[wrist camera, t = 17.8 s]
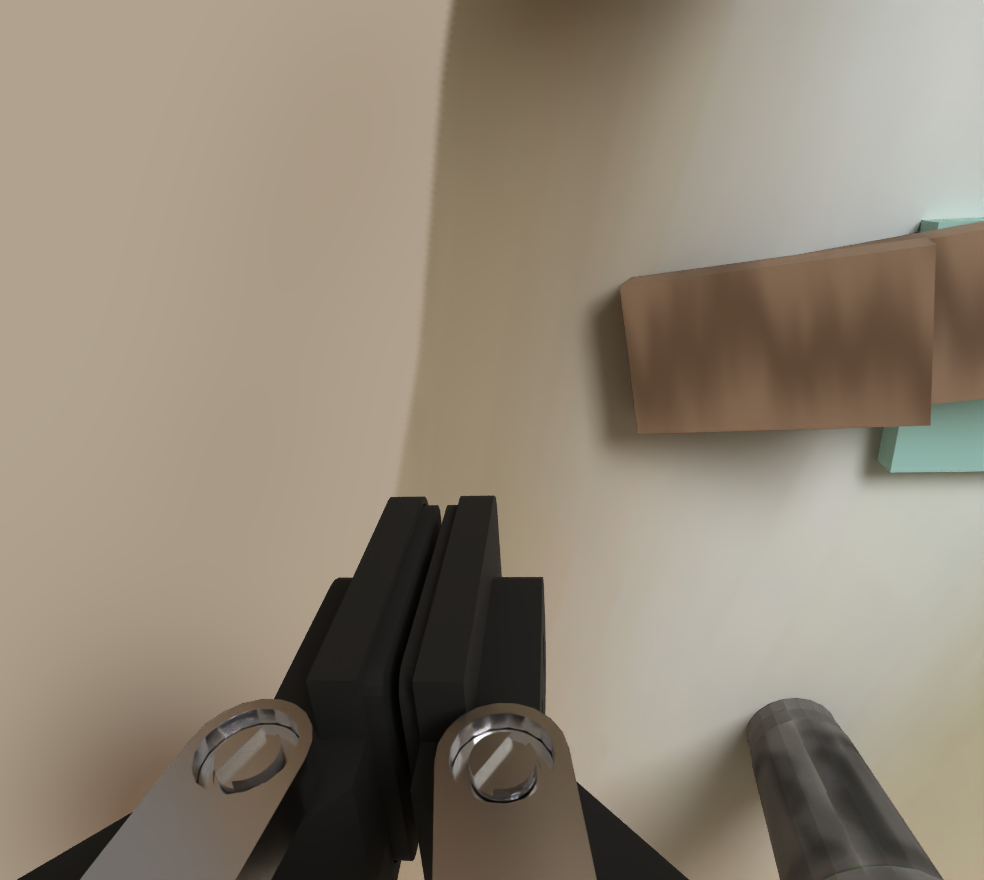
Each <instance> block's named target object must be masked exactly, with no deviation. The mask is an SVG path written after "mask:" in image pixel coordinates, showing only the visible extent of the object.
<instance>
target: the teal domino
mask: <svg viewBox="0 0 984 880" xmlns="http://www.w3.org/2000/svg"><path fill="white" fill-rule="evenodd" d="M981 221H984V218H961V219H938V220H922V221H921V227H920V232H926V231H931V230H937V229H942V228H948V227H954V226H959V225H965V224H970V223H976V222H981ZM920 232H919V233H920ZM877 462H878V463H880V464H881V465H882V466H883V467H884V468H885V469H887V470H888V471H889V472H890V473H896V472H975V471H984V399H978V400H968V401H958V402H948V403H939V404H931V426H901V427H883V432H882V437H881V442H880V448H879V453H878V459H877Z"/></svg>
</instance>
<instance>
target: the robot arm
mask: <svg viewBox="0 0 984 880" xmlns="http://www.w3.org/2000/svg"><path fill="white" fill-rule="evenodd" d="M545 694H546V642H545V606H544V583H543V577H502V575H501V560H500V545H499V530H498V516H497V503H496V497H495V496H461V497H460V499H459V503H458V505H448V506H447V508H446V511H445V515H444V518H443V522H442V524H441V515H440V509H439V506H438V505H428V502H427V499H426V497H391V498H390V499H389V500H388V502H387V504H386V507H385V509H384V511H383V513H382V515H381V518H380V520H379V522H378V524H377V526H376V528H375V531H374V533H373V535H372V537H371V539H370V542H369V544H368V546H367V548H366V550H365V552H364V555H363V557H362V559H361V561H360V563H359V565H358V568H357V570H356V572H355V574H354V577H353V578H338V579H336V580H334V582H333V583H332V585H331V586H330V588H329V590H328V592H327V594H326V596H325V598H324V600H323V602H322V604H321V606H320V608H319V610H318V612H317V614H316V616H315V618H314V620H313V622H312V624H311V626H310V628H309V630H308V632H307V634H306V636H305V638H304V640H303V642H302V644H301V646H300V648H299V650H298V652H297V654H296V656H295V658H294V660H293V662H292V664H291V666H290V668H289V670H288V672H287V674H286V676H285V678H284V680H283V682H282V684H281V686H280V688H279V690H278V692H277V694H276V696H275V698H274V699H260V700H256V701H251V702H247V703H242V704H240V705H238V706H236V707H233V708H231V709H228V710H226V711H224V712H222V713H221V714H219V715H218V716H216V717H215V718H213V719H212V720H210V721H209V722H207V723H206V724H205V725H204V726H203V727H202V728H201V729H200V730H199V731H198V732H197V733H196V734H195V735H194V736H193V737H192V738H191V739H190V740H189V741H188V743H187V744H186V745H185V746H184V748H183V749H182V750H181V752H180V753H179V754H178V755H177V757H176V758H175V759H174V760H173V762H172V763H171V764H170V766H169V767H168V768H167V769H166V771H165V772H164V773H163V775H162V776H161V777H160V778H159V780H158V781H157V782H156V784H155V785H154V786H153V787H152V788H151V790H150V791H149V792H148V794H147V795H146V796H145V797H144V799H143V800H142V801H141V803H140V804H139V805H138V806H137V808H136V809H135V810H134V811H133V812H132V813H130V814H128V815H127V816H125V817H123V818H122V819H120V820H118V821H116V822H115V823H113V824H112V825H110V826H108V827H106V828H104V829H103V830H101V831H100V832H98V833H96V834H94V835H93V836H91V837H89V838H87V839H86V840H84V841H82V842H81V843H79V844H77V845H75V846H74V847H72V848H70V849H69V850H67V851H65V852H63V853H62V854H60V855H58V856H57V857H55V858H54V859H52V860H50V861H48V862H46V863H45V864H43V865H41V866H40V867H38V868H36V869H35V870H33V871H31V872H30V873H28V874H26V875H24V876H23V877H21V878H19V879H17V880H397V878H398V873H399V868H400V864H401V860H402V861H413V860H414V858H415V855H416V852H417V847H418V842H419V847H420V854H421V860H422V866H423V872H424V879H425V880H689V879H687V878H686V877H685V876H684V875H683V874H682V873H681V872H679V871H678V870H677V869H676V868H675V867H674V866H673V865H671V864H670V863H669V862H668V861H667V860H666V859H665V858H663V857H662V856H661V855H660V854H659V853H658V852H657V851H655V850H654V849H653V848H652V847H651V846H650V845H649V844H647V843H646V842H645V841H644V840H643V839H642V838H641V837H639V836H638V835H637V834H636V833H635V832H634V831H632V830H631V829H630V828H629V827H628V826H627V825H626V824H624V823H623V822H622V821H621V820H620V819H619V818H618V817H616V816H615V815H614V814H613V813H612V812H611V811H610V810H608V809H607V808H606V807H605V806H604V805H603V804H602V803H600V802H599V801H598V800H597V799H596V798H595V797H594V796H592V795H591V794H590V793H589V792H588V791H587V790H586V789H584V788H583V787H582V786H581V785H580V784H579V783H578V782H576V778H575V773H574V769H573V764H572V759H571V754H570V750H569V746H568V744H567V742H566V739H565V737H564V734H563V732H562V731H561V729H560V728H559V727H558V726H557V725H556V724H555V723H554V722H553V720H552V719H551V718H549V717H548V716H546V715H545Z"/></svg>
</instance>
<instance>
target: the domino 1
mask: <svg viewBox="0 0 984 880" xmlns="http://www.w3.org/2000/svg"><path fill="white" fill-rule="evenodd" d="M935 263H936V244H935V243H933V242H932V241H931V240H930V239H928V238H927V237H924V238H917V239H910V240H902V241H895V242H888V243H880V244H873V245H866V246H859V247H851V248H844V249H837V250H829V251H822V252H815V253H807V254H800V255H793V256H785V257H778V258H771V259H763V260H756V261H749V262H742V263H734V264H727V265H720V266H712V267H705V268H698V269H690V270H683V271H676V272H668V273H661V274H654V275H646V276H639V277H632V278H630V279H629V280H628V281H626V282H625V283H623V284H622V285H621V286H619V287H620V295H621V303H622V311H623V319H624V327H625V335H626V343H627V351H628V359H629V367H630V375H631V383H632V391H633V400H634V408H635V416H636V424H637V432H638V434H657V433H692V432H727V431H762V430H797V429H831V428H866V427H901V426H931V393H932V361H933V328H934V295H935Z"/></svg>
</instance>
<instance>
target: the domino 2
mask: <svg viewBox="0 0 984 880" xmlns="http://www.w3.org/2000/svg"><path fill="white" fill-rule="evenodd" d="M924 237H927V238H928V239H930V240H931V241H932V242H933V243H935V244H936V263H935V295H934V328H933V361H932V393H931V404H939V403H948V402H958V401H968V400H978V399H984V221H981V222H976V223H970V224H965V225H959V226H954V227H948V228H942V229H937V230H931V231H926V232H920V233H915V234H909V235H904V236H898V237H893V238H887V239H882V240H876V241H871V242H865V243H860V244H854V245H849V246H843V247H838V248H832V249H827V250H821V251H816V252H822V251H829V250H837V249H844V248H851V247H859V246H866V245H873V244H880V243H888V242H895V241H902V240H910V239H917V238H924ZM810 253H815V252H810ZM804 254H807V253H804ZM799 255H800V254H799Z"/></svg>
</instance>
